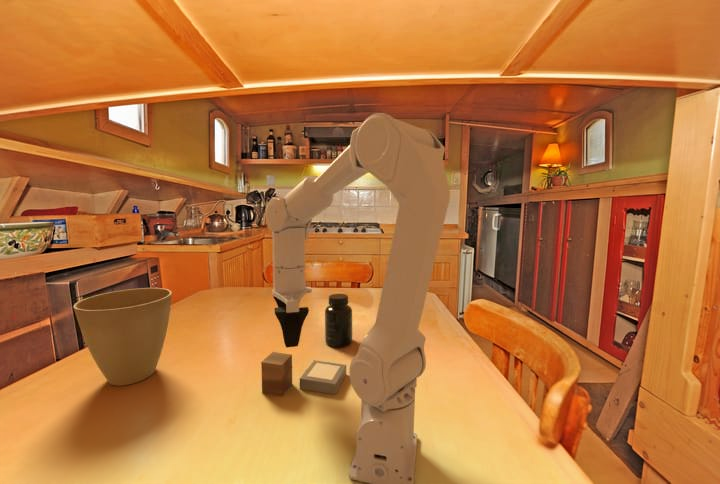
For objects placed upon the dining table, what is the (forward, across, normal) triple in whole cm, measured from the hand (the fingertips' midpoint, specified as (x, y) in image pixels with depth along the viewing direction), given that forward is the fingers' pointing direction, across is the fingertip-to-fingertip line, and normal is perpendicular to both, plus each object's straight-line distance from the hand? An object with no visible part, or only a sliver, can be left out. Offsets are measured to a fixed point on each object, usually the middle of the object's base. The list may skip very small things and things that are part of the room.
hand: (290, 337), depth 56 cm
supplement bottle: (+10, +15, -13) cm, 22 cm away
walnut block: (+10, 0, +2) cm, 10 cm away
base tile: (+10, 0, -6) cm, 11 cm away
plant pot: (+10, +12, +30) cm, 34 cm away
